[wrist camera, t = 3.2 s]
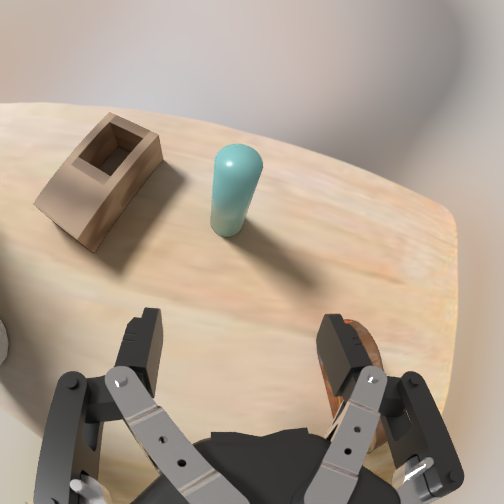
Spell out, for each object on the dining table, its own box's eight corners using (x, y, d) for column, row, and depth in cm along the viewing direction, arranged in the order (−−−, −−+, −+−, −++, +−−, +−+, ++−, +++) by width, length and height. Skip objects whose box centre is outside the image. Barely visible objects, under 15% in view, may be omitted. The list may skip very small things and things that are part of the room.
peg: (232, 242, 32) (248, 192, 20) (204, 226, 32) (205, 168, 20) (248, 217, 33) (270, 158, 21) (221, 201, 33) (230, 137, 21)
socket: (94, 253, 29) (77, 239, 24) (51, 220, 29) (32, 203, 24) (163, 159, 33) (158, 134, 28) (118, 136, 33) (109, 112, 28)
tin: (309, 326, 30) (344, 323, 22) (334, 318, 31) (373, 312, 23) (338, 442, 27) (374, 467, 19) (360, 431, 28) (400, 451, 20)
